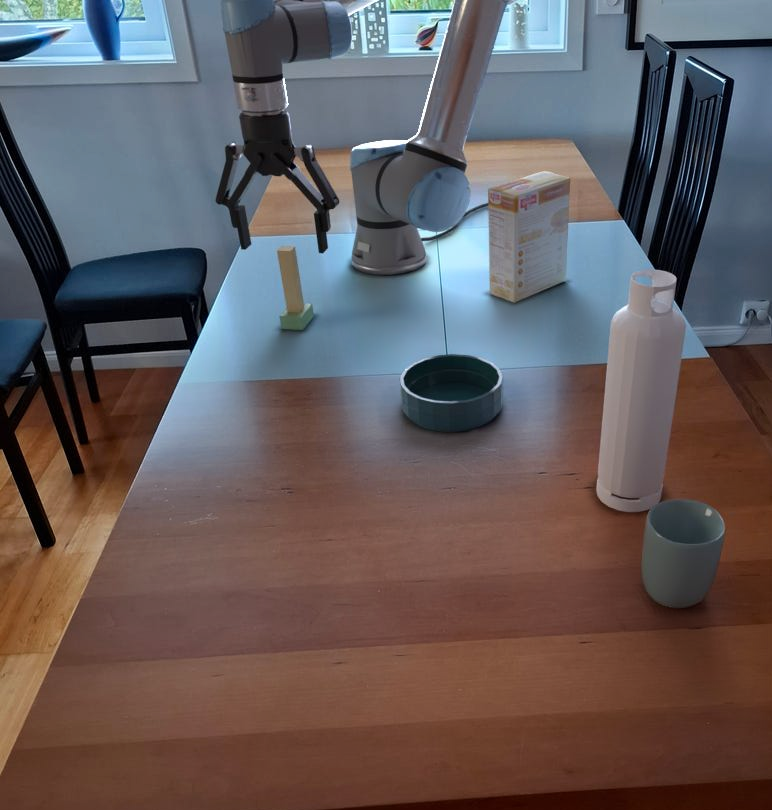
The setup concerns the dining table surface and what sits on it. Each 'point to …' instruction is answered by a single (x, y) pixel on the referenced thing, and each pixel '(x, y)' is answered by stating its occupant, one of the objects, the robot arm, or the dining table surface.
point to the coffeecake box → (528, 235)
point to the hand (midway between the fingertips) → (284, 249)
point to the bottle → (640, 394)
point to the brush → (292, 292)
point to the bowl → (451, 392)
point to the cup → (681, 551)
